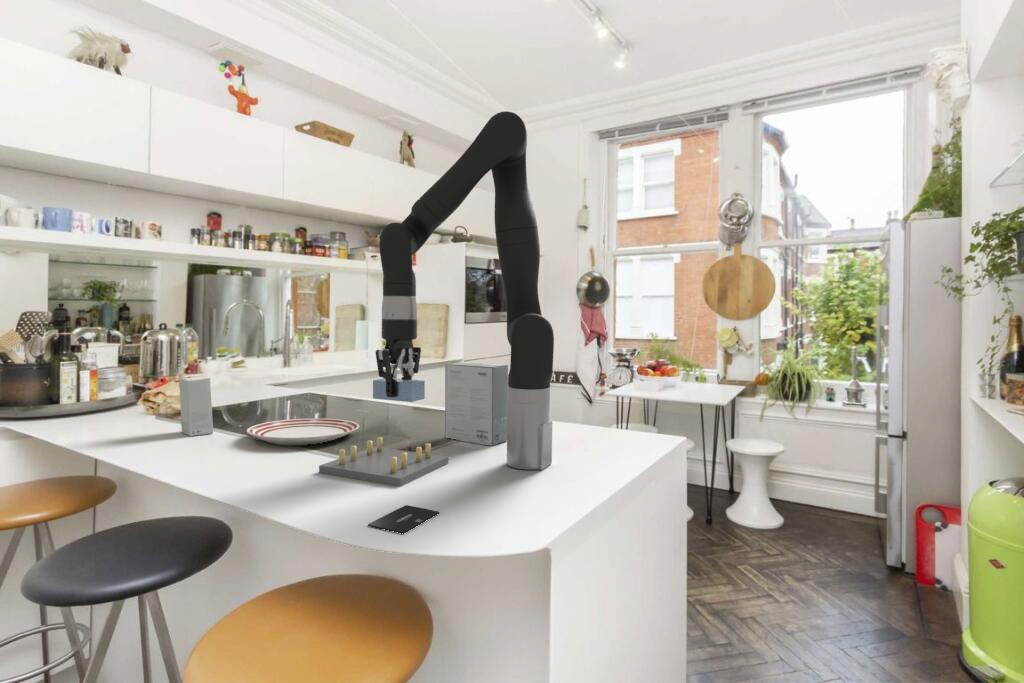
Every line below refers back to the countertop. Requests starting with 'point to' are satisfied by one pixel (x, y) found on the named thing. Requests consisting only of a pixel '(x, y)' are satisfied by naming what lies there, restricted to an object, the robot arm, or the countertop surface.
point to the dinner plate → (302, 431)
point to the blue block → (400, 390)
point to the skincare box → (196, 406)
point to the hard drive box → (476, 402)
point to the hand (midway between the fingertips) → (399, 394)
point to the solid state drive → (403, 519)
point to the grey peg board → (384, 464)
